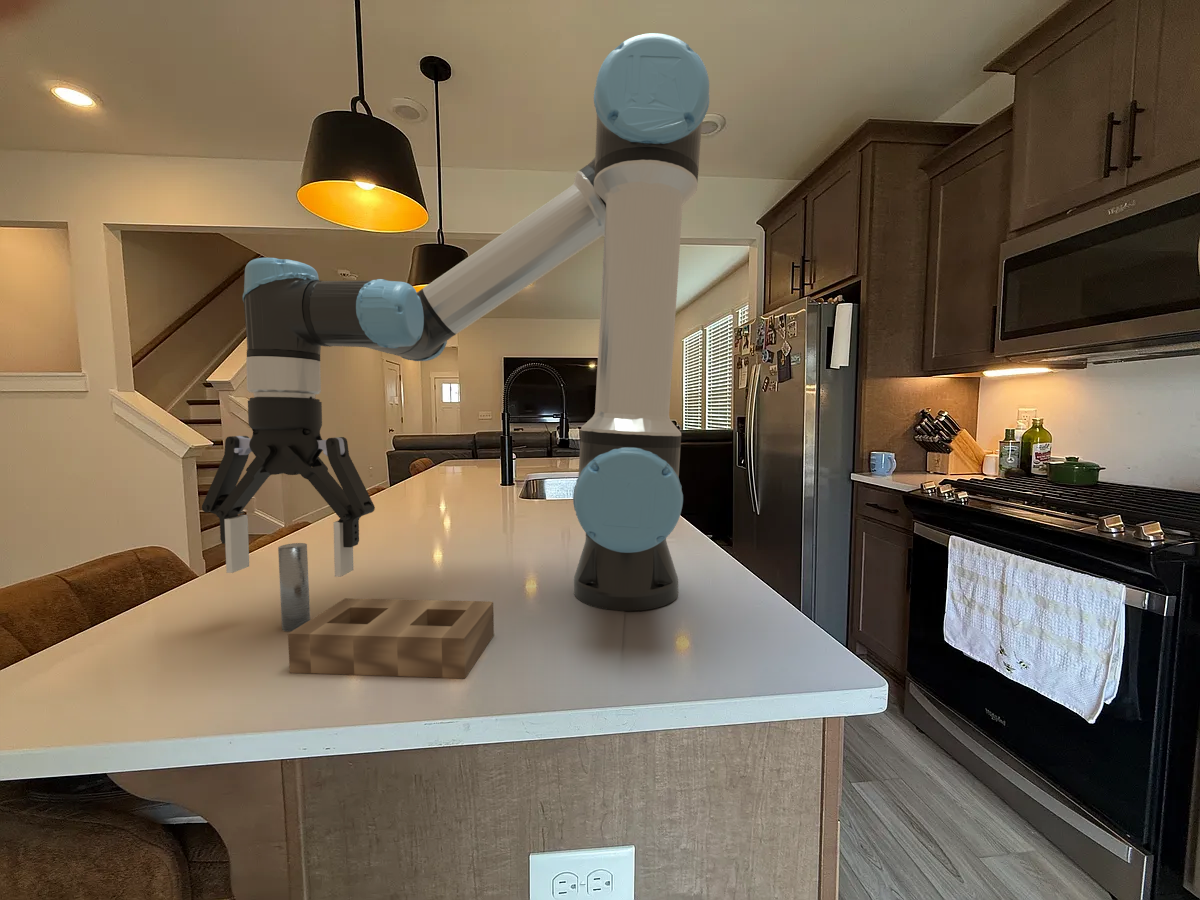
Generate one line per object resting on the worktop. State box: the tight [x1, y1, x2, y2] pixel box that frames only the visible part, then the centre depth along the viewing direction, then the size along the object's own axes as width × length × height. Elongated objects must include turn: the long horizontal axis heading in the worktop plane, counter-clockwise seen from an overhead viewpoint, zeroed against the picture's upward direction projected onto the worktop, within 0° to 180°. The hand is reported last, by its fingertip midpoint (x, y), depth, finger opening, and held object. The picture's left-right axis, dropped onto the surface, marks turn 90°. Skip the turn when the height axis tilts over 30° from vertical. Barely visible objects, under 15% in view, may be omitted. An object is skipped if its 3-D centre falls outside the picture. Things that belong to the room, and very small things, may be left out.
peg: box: [277, 542, 311, 632], centre depth 63 cm, size 3×3×10 cm
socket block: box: [287, 598, 495, 679], centre depth 56 cm, size 18×10×4 cm, turn 86°
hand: (290, 571), depth 63 cm, fingers open, 13 cm apart
